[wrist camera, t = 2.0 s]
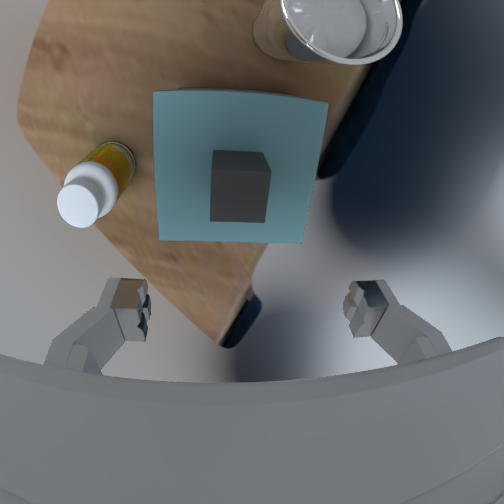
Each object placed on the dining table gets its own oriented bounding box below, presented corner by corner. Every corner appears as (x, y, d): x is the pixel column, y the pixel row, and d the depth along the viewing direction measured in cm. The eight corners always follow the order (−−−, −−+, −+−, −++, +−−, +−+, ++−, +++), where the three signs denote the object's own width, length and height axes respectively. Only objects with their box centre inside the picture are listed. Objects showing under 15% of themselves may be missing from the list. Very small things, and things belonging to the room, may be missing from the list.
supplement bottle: (111, 130, 25) (70, 162, 18) (146, 164, 28) (118, 207, 20) (82, 165, 27) (40, 207, 19) (115, 195, 30) (84, 246, 22)
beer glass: (232, 36, 21) (244, 6, 9) (278, -11, 18) (332, -69, 6) (290, 78, 24) (354, 95, 12) (333, 32, 21) (426, 21, 9)
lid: (156, 90, 17) (137, 98, 13) (324, 101, 19) (351, 113, 15) (161, 233, 24) (151, 271, 20) (298, 236, 26) (313, 273, 22)
